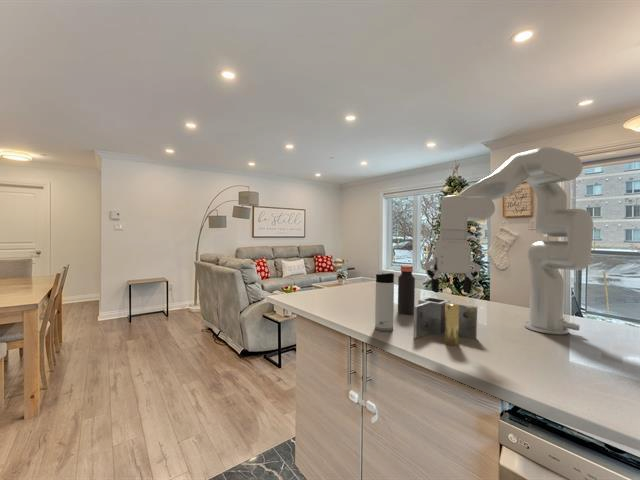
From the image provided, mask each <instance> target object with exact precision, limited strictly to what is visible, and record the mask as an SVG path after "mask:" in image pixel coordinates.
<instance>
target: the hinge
mask: <svg viewBox="0 0 640 480" xmlns="http://www.w3.org/2000/svg"><path fill="white" fill-rule="evenodd" d="M417 303H418V304H417V305H414V314H413V333H412V335H413V336H412V337H413V339H418V338H420V337H423V336H424V335H426V334H428V333H434V334H438V335H442V334H443V333H444V332H445V304H446V303H451V300H450V299H443V298H437V297H432V296H426V297H424V298H420V299H418V302H417ZM453 303H454V304H458V305H459V336H460V337H463V338H464V337H465V338H469V339H473V340H477V338H478V334H477V333H478V306H474V305H473V306H472V305H467V304H461V303H456V302H453Z"/></svg>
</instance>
